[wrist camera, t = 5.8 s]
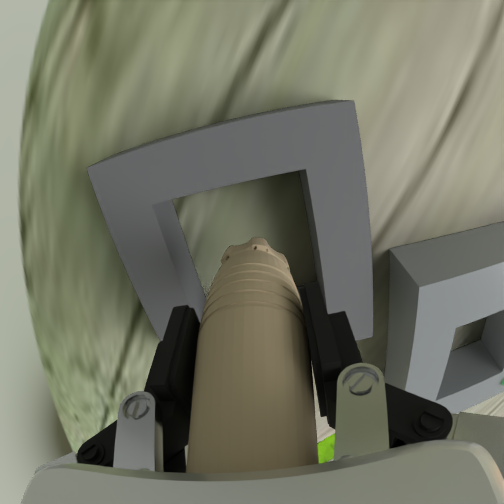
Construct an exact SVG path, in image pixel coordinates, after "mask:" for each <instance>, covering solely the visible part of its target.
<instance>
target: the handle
mask: <svg viewBox="0 0 504 504" xmlns="http://www.w3.org/2000/svg"><path fill="white" fill-rule="evenodd" d="M221 263H222V266H221V267H220V269H219V271H218V273H217V274H216V276H215V278H214V281H213V283H212V285H211V288H210V291H209V293H208V296H207V300H206V302H205V306H204V310H203V314H202V319H201V324H200V329H199V334H198V340H197V349H196V360H195V371H194V382H193V394H192V407H191V420H190V430H189V441H188V453H187V465H186V473H234V472H252V471H264V470H275V469H284V468H293V467H300V466H307V465H314V464H319V457H318V444H317V432H316V420H315V405H314V390H313V377H312V365H311V353H310V346H309V340H308V335H307V330H306V324H305V319H304V313H303V308H302V303H301V300H300V297H299V294H298V291H297V288H296V285H295V283H294V281H293V278H292V276H291V274H290V268H289V265H288V262H287V260H286V258H285V256H284V254H282V253H278V252H276V251H275V250H273V249H272V248H271V247H270V246H269V245H268V244H267V241H266V240H265V239H263V238H260V237H253V238H252V239H251V240H250V241H249V242H247V243H245V244H242V245H238V246H233V245H232V246H229V247H228V249H227V250H226V251H225V253H224V255H223V257H222V260H221Z"/></svg>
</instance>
